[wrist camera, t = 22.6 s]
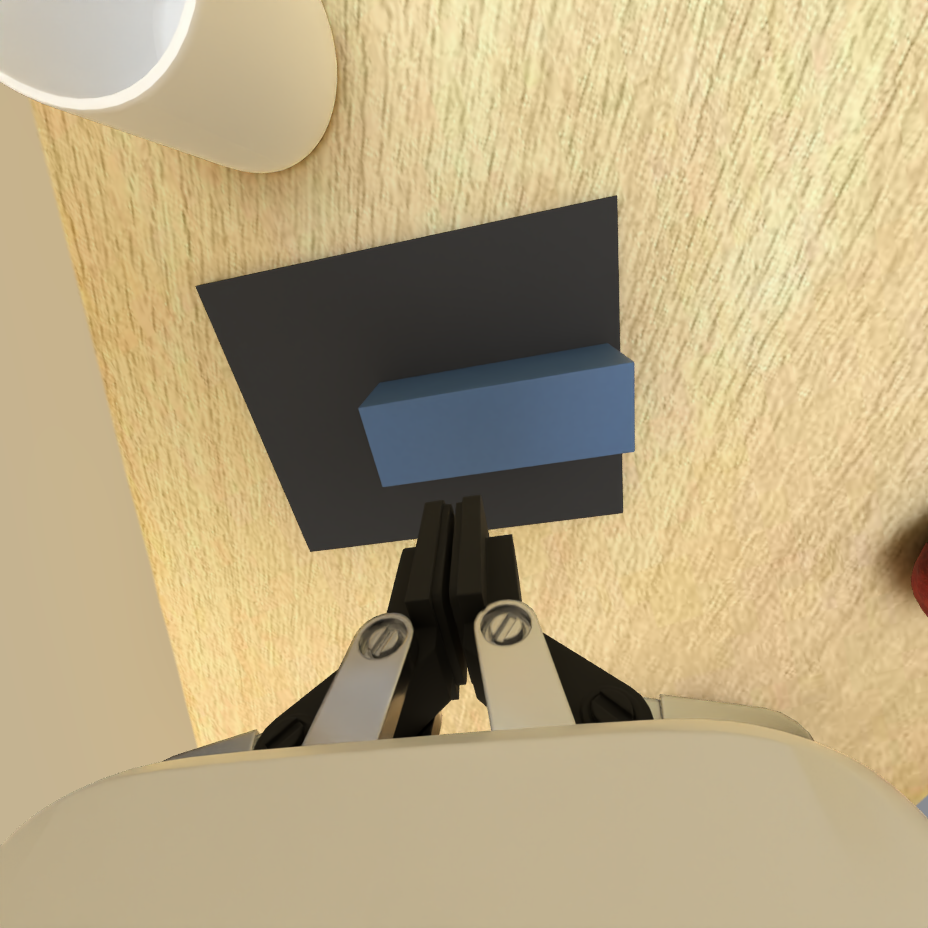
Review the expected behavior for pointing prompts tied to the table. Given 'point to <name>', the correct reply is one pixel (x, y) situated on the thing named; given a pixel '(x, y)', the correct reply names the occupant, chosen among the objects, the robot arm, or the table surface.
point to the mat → (418, 361)
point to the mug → (182, 72)
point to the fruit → (921, 579)
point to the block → (502, 415)
